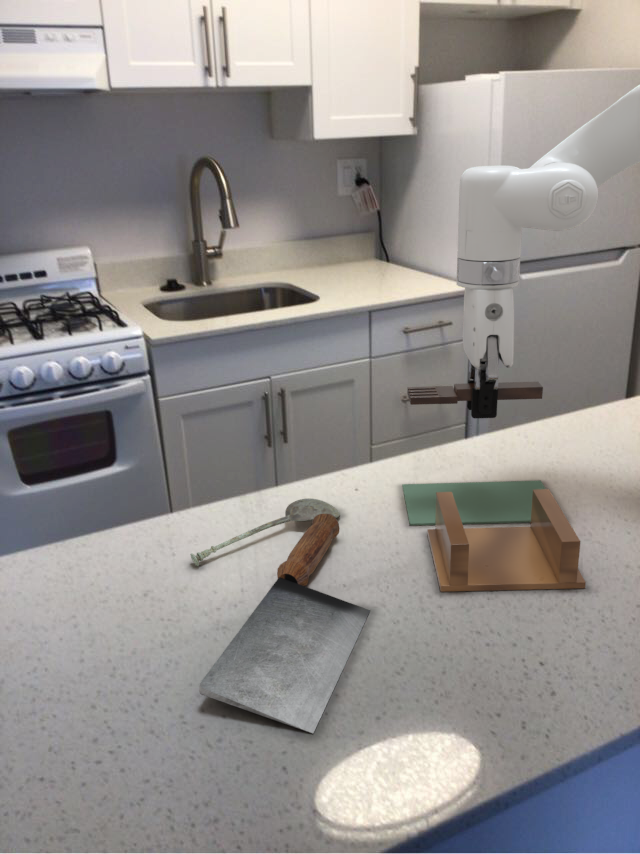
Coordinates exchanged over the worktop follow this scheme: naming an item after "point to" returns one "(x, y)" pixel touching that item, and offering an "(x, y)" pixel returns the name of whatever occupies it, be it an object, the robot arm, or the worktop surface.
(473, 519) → the mat
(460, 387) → the fork
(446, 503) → the rack
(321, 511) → the soupspoon
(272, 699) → the meat cleaver
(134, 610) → the worktop surface
